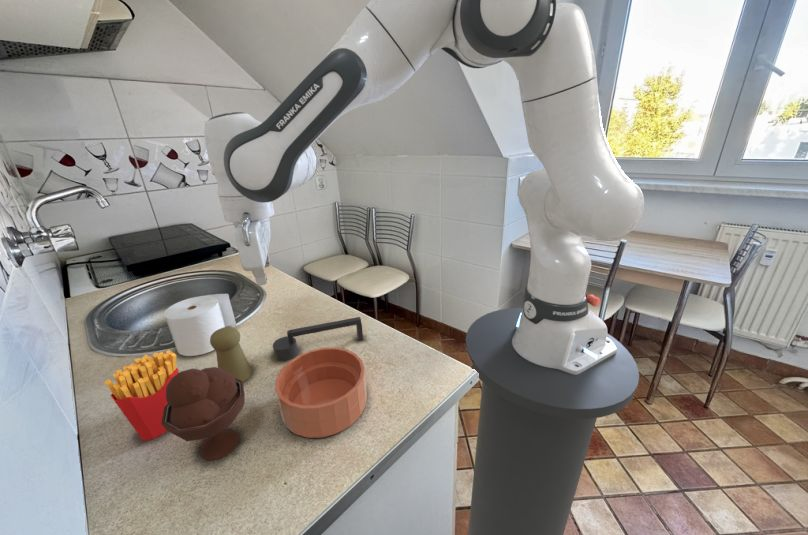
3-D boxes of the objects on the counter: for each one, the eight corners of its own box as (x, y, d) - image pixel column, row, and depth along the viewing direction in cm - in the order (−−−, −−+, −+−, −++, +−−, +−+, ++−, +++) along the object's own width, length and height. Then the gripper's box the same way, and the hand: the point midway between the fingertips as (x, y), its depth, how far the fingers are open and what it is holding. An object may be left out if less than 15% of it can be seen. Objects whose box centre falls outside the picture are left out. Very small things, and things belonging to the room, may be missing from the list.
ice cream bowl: (213, 490, 45) (182, 410, 39) (165, 460, 50) (131, 384, 44) (271, 431, 54) (252, 359, 48) (225, 409, 59) (203, 341, 53)
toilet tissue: (166, 356, 73) (151, 318, 69) (200, 326, 84) (190, 292, 80) (210, 357, 72) (198, 319, 69) (239, 327, 83) (230, 293, 80)
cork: (249, 382, 65) (236, 337, 61) (216, 388, 63) (201, 342, 59) (253, 363, 70) (242, 320, 66) (223, 369, 69) (210, 325, 65)
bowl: (358, 368, 68) (355, 340, 65) (375, 425, 55) (372, 393, 52) (283, 385, 64) (276, 357, 61) (281, 452, 51) (273, 419, 48)
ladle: (274, 363, 70) (269, 341, 68) (275, 349, 75) (270, 328, 72) (364, 343, 76) (363, 323, 74) (360, 332, 80) (359, 312, 78)
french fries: (138, 448, 52) (107, 386, 47) (129, 435, 54) (99, 374, 49) (199, 411, 58) (177, 352, 53) (188, 400, 61) (167, 344, 56)
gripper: (262, 218, 53) (278, 293, 58) (269, 197, 71) (281, 256, 76) (219, 223, 51) (240, 299, 56) (238, 200, 69) (252, 260, 74)
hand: (264, 274), depth 66 cm, fingers open, 8 cm apart
